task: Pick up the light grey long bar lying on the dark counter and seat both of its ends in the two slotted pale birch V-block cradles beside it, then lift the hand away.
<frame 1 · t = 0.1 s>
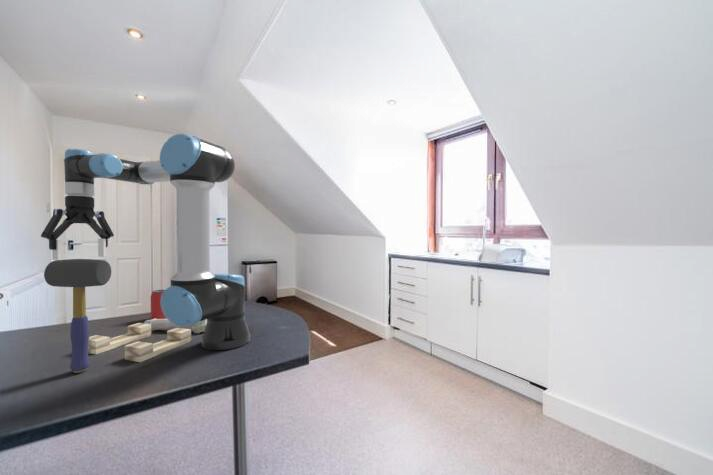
hand: (80, 258, 107), 28 cm above the table, tool pointing down, fingers open, 13 cm apart
v block cradle: (139, 346, 101), on the table
light grey long bar: (176, 332, 117), on the table
beer can: (160, 319, 133), on the table
rubber mallet: (80, 371, 83), on the table
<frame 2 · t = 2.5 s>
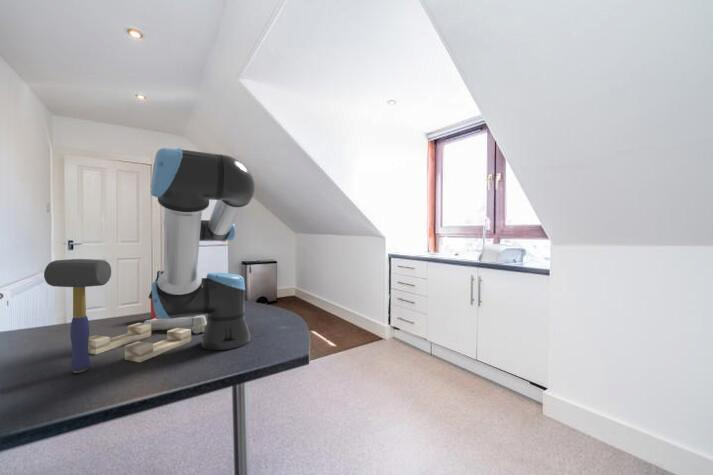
hand: (176, 312, 117), 7 cm above the table, tool pointing down, fingers open, 13 cm apart
nothing on the table moved.
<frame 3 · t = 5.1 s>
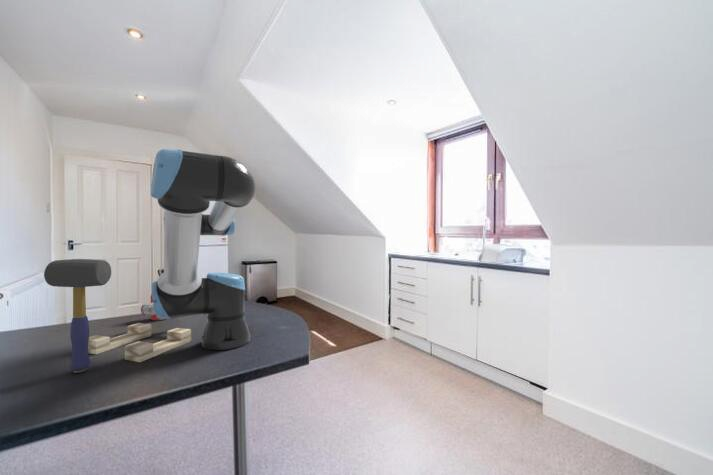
hand: (176, 313, 116), 7 cm above the table, tool pointing down, fingers closed on light grey long bar, 5 cm apart
light grey long bar: (175, 315, 116), point 6 cm above the table, touching gripper
everything else where it was.
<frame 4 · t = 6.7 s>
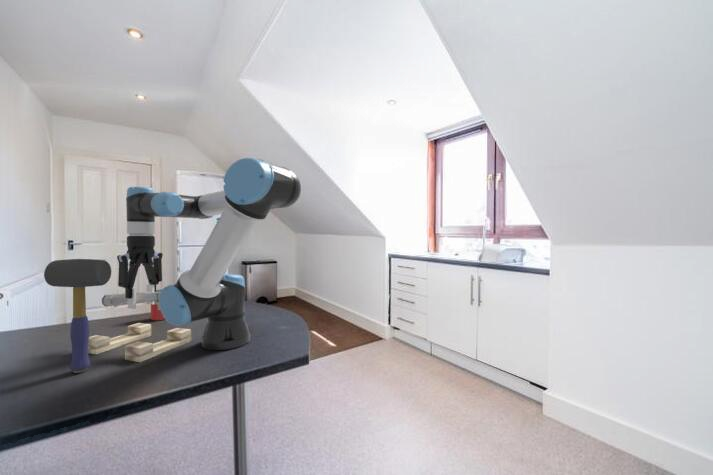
hand: (141, 305, 102), 13 cm above the table, tool pointing down, fingers closed on light grey long bar, 5 cm apart
light grey long bar: (140, 308, 102), point 12 cm above the table, touching gripper
everything else where it was.
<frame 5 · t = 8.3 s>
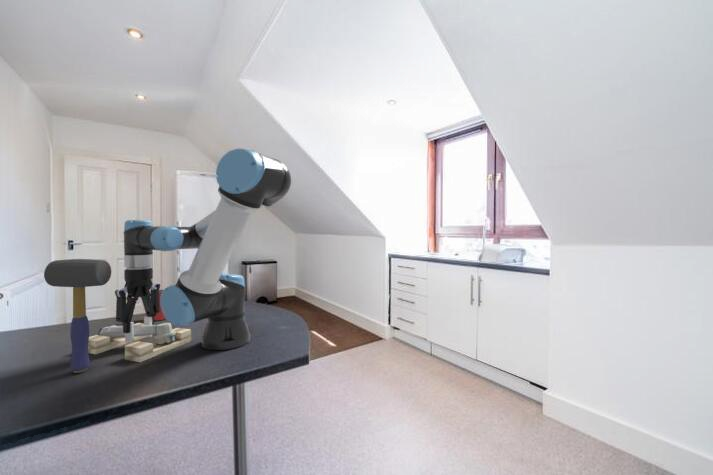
hand: (139, 339, 101), 2 cm above the table, tool pointing down, fingers closed on light grey long bar, 5 cm apart
light grey long bar: (137, 341, 101), point 2 cm above the table, touching gripper
everything else where it was.
when the fingers open (2 cm above the table, at t = 8.7 s): light grey long bar stays where it is, resting on v block cradle.
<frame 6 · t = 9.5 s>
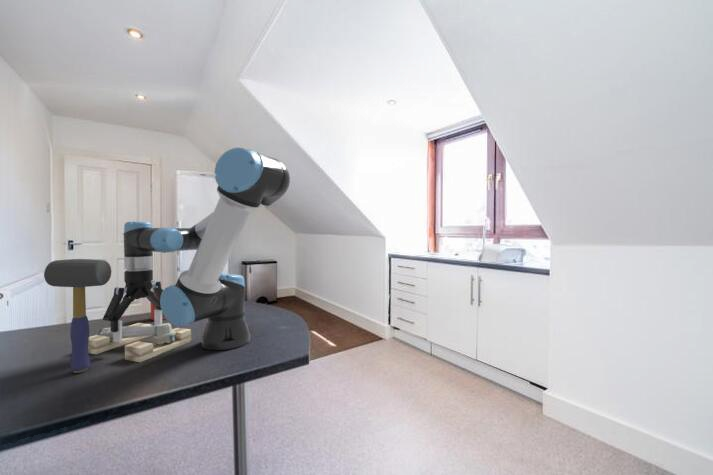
hand: (139, 334, 101), 4 cm above the table, tool pointing down, fingers open, 13 cm apart
light grey long bar: (137, 342, 101), point 1 cm above the table, touching v block cradle
everything else where it was.
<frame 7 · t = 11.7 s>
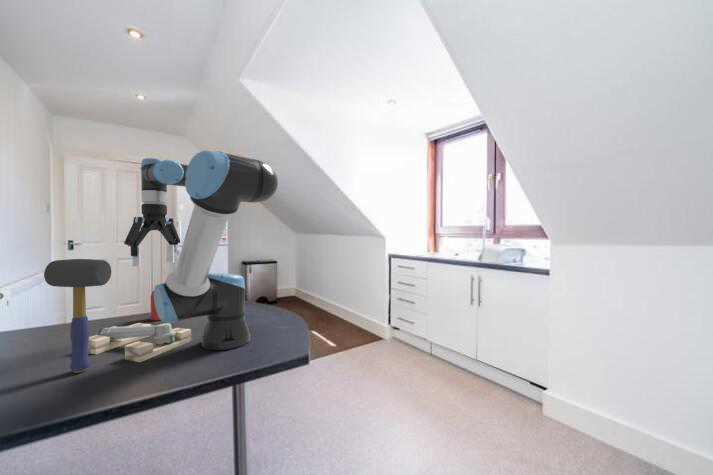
hand: (154, 264, 110), 26 cm above the table, tool pointing down, fingers open, 13 cm apart
nothing on the table moved.
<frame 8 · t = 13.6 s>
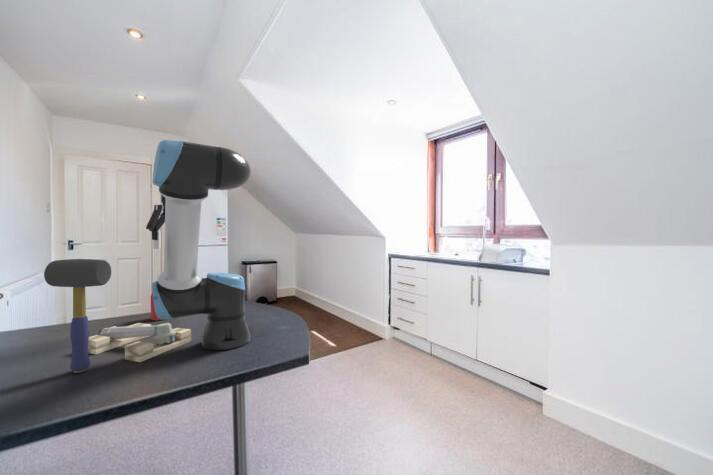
hand: (172, 248, 122), 31 cm above the table, tool pointing down, fingers open, 13 cm apart
nothing on the table moved.
at the end: light grey long bar 0.5 cm off-centre on the v block cradle, point 1.3 cm above the v block cradle's base; light grey long bar touching v block cradle; the gripper is holding nothing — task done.
